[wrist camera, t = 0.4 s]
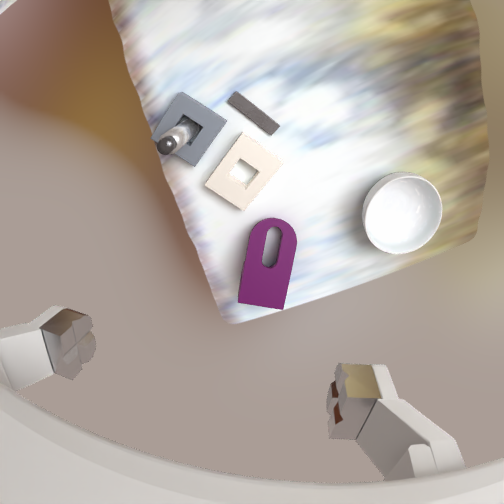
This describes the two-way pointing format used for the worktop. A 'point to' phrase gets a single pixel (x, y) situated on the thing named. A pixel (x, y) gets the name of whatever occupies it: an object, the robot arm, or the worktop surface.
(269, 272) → the mounting bracket
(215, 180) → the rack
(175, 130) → the capped cylinder peg
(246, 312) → the worktop surface
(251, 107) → the bar
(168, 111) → the socket
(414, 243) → the cereal bowl
